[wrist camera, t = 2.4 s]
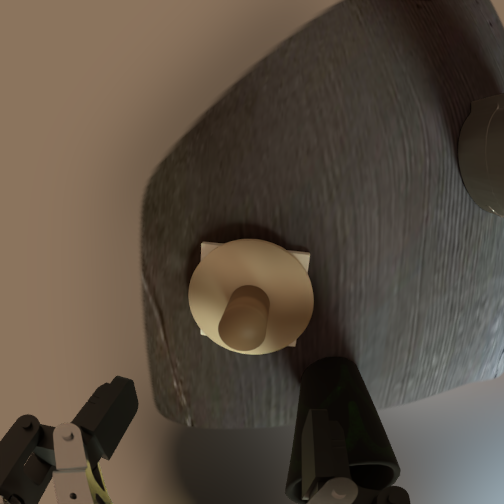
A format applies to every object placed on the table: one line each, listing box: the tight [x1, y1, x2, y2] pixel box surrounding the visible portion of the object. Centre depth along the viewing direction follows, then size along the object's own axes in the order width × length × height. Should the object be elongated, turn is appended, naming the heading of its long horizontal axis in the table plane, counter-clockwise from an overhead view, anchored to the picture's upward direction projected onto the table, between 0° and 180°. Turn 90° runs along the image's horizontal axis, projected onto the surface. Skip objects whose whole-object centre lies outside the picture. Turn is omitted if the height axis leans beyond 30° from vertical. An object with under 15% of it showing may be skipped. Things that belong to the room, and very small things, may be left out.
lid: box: [188, 239, 314, 355], centre depth 20 cm, size 10×10×5 cm
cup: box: [285, 357, 400, 504], centre depth 18 cm, size 8×8×12 cm
